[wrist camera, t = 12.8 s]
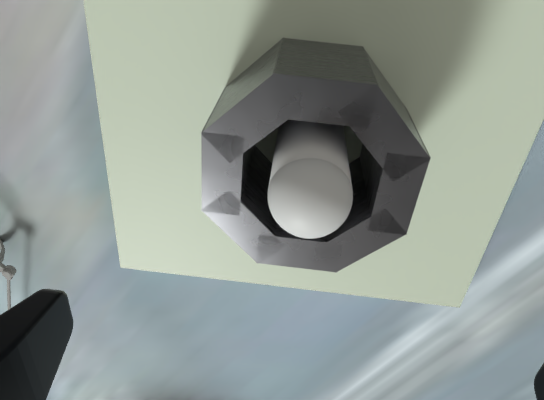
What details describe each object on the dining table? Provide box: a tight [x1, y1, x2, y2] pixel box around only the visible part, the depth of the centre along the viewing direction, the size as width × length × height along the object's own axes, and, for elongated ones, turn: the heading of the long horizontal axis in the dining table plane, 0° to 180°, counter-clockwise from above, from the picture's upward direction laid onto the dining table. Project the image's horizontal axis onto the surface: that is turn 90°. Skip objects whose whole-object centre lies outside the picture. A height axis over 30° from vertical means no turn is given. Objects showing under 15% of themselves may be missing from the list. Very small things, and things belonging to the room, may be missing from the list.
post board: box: [83, 0, 544, 308], centre depth 14 cm, size 16×16×7 cm
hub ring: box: [201, 37, 431, 273], centre depth 15 cm, size 6×6×4 cm
